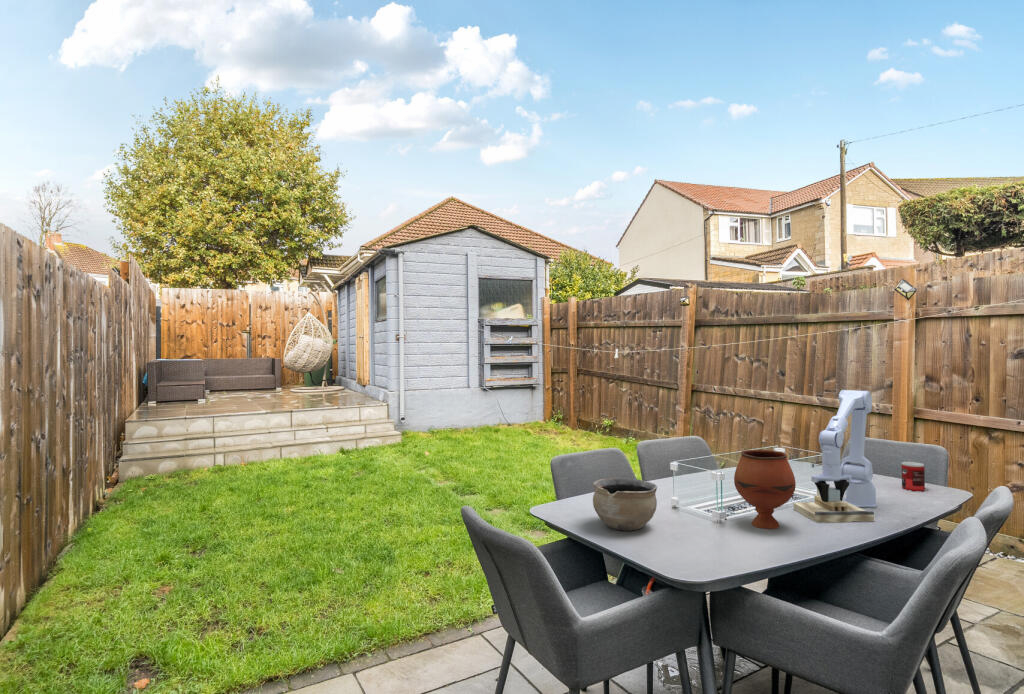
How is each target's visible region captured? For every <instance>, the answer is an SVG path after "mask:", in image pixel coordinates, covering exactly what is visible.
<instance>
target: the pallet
mask: <svg viewBox="0 0 1024 694" xmlns="http://www.w3.org/2000/svg"><path fill="white" fill-rule="evenodd" d="M813 497H814V502H815V504H817V505H819V506H821V507H823V508H825V509H827V510H830V511H835V510H836V511H841V510H842V511H847V503H846V502H844V501H827V502H823V501H822V500H821V497H819V496H817V494H814V496H813Z"/></svg>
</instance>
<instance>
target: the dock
mask: <svg viewBox="0 0 1024 694" xmlns="http://www.w3.org/2000/svg"><path fill="white" fill-rule="evenodd" d="M846 503H847V511H842V510H841V511H836V510H835V511H830V510H827V509H825V508H823V507H821V506H819V505H817V504H815V501H814V502H793V510H794V511H796V512H798V513H799V514H801V515H803V516H805V517H806V518H808V519H810V520H811V519H812V520H811V521H813V522H815V523H817V522H826V523H852V522H851V521H874V522H875V511H874V510H865V509H863V508H862V507H857V506H854V505H852V504H850V503H848V502H846Z"/></svg>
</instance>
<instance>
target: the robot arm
mask: <svg viewBox="0 0 1024 694" xmlns="http://www.w3.org/2000/svg"><path fill="white" fill-rule="evenodd" d="M838 402H839V407H838V409H837V413H836V415H834V416H831V418H830V420H829V422H828V424H827V426H826V428H825V429H824V430H821V431H820V432H819V435H818V443H819V446H820V451H821V452H822V453H821V454H822V455H821V461H822V462H821V463H822V464H821V466H822V473H821V474H817V475H811V476H810V477H811V480H810V481H811V482H813V483H814V484H815V486H816V489H817V488H818V490H819V493H820V496H821V500H822V501H823V502H827V501H828V489H829V486H831V485H830V484H829V483H827V482H833V485H834V488H836V489H838V490H840V501H844V502H848V503H850V504H852V505H854V506H857V507H859V508H875V507H876V508H877V507H878V505H877V499H876V498H877V490H876V487H875V484H874V483H873V482H872V479H874V477H873V476H874V471H873V463H872V462H871V461H870V460H869V459H868V458H867V457H865V450H866V447H865V445H866V430H867V429H866V428H867V416H868V415H867V414H871V413H872V406H873V397H872V394H871V392H870V391H869V390H852V389H851V390H849V389H841V391H840V392H838ZM850 416H851V422H850V423H851V424H850V435H849V436H850V440H849V454H848V455H847V456H845V457H844V458H842V460H841V447H842V446H843V444H844V438H845V435H844V433H845V432H846V430H847V428H848V425H849V422H848V419H849V417H850ZM844 495H845V500H844V499H843V498H844Z"/></svg>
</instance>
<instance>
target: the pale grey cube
mask: <svg viewBox="0 0 1024 694" xmlns="http://www.w3.org/2000/svg"><path fill="white" fill-rule="evenodd" d="M828 501H840V490H838V489H836V488H835V487H834V488H829V489H828Z"/></svg>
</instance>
